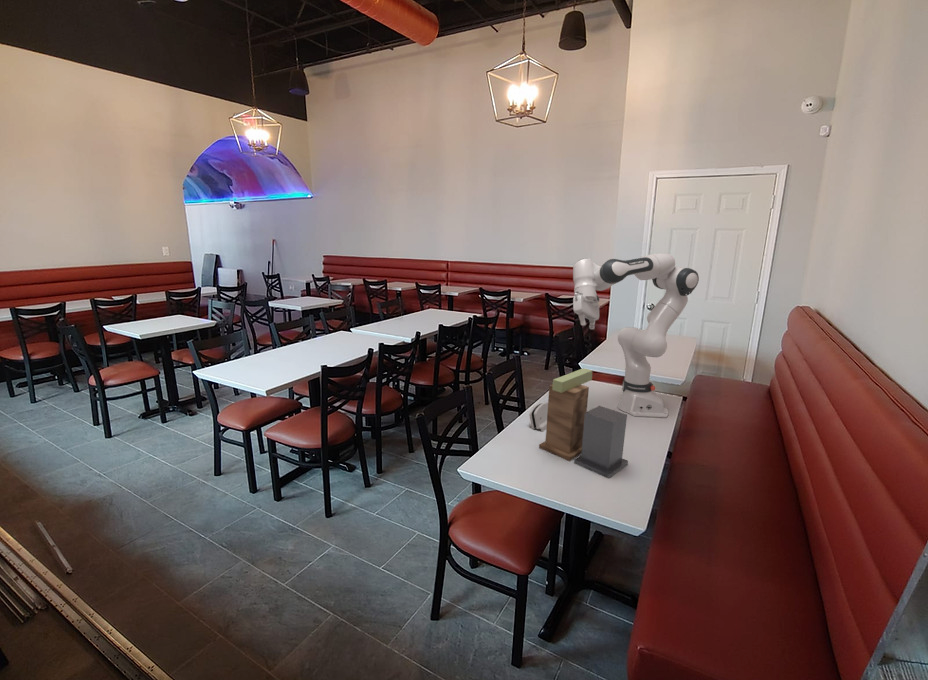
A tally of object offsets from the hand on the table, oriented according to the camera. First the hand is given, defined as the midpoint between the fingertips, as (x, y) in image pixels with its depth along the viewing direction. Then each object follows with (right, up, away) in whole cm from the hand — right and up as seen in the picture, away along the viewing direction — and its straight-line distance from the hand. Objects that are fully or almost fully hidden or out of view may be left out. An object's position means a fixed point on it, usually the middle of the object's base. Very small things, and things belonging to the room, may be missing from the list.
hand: (587, 327), depth 188 cm
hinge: (-17, -43, +11) cm, 47 cm away
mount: (-1, -51, -23) cm, 56 cm away
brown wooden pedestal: (-13, -48, -12) cm, 51 cm away
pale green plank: (-10, -23, -16) cm, 30 cm away
